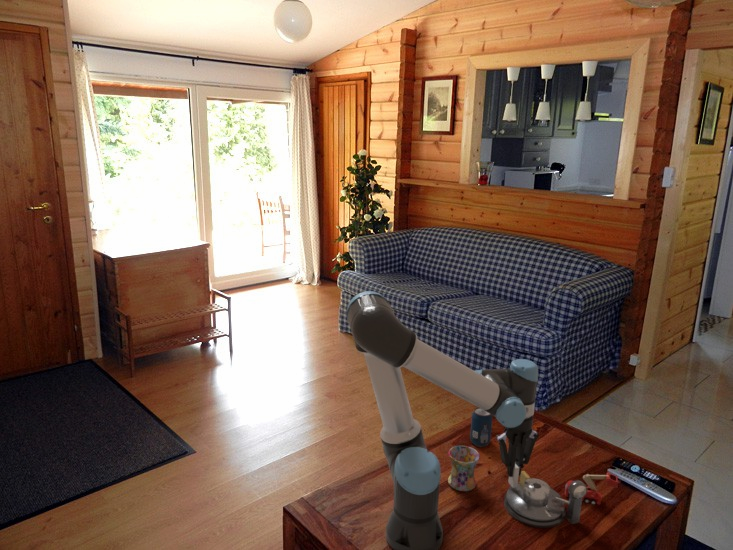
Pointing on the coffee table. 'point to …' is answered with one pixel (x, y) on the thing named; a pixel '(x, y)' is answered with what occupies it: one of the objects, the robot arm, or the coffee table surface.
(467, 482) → the mug
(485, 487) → the coffee table surface
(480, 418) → the soda can
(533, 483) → the cover
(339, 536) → the coffee table surface
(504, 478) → the coffee table surface
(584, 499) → the toy fire truck
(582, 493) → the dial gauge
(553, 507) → the turntable
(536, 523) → the base
